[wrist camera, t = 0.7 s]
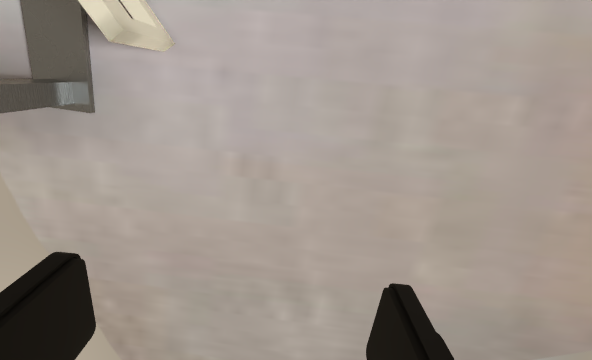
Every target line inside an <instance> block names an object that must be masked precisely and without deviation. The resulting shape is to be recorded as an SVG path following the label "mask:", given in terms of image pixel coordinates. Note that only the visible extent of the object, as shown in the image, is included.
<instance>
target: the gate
mask: <svg viewBox="0 0 592 360" xmlns="http://www.w3.org/2000/svg"><path fill="white" fill-rule="evenodd" d="M78 1H79V2H80V4H81V5H82V6H83V8H84V9H85V10H86V12H87V13H88V14H89V16H90V17H91V18H92V20H93V21H94V22H95V23H96V25H97V26H98V27H99V29H100V30H101V31H102V33H103V34H104V35H105V37H106V38H107V39H108V41H109V42H114V43H120V44H125V45H130V46H136V47H141V48H146V49H152V50H157V51H162V52H165V51H166V50H167V49H169V48H170V47H172V46H173V45H174V44H175V43H174V42H173V40H172V39H171V37H170V36H169V35H168V33H167V32H166V30H165V29H164V27H163V26H162V24H161V23H160V21H159V20H158V19H157V17H156V16H155V14H154V13H153V11H152V10H151V8H150V7H149V5H148V4H147V3H146V1H145V0H121V2H122V3H123V5H124V6H125V7H126V9H127V10H128V12H129V13H130V14H131V16H132V17H133V19H132V18H131V17H130V16H129V15H128V13H127V12H126V10H125V9H124V8H123V6H122V5H121V3H120V2H119V1H118V0H78Z"/></svg>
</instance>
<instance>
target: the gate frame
mask: <svg viewBox="0 0 592 360" xmlns="http://www.w3.org/2000/svg"><path fill="white" fill-rule="evenodd" d="M21 6H22V12H23V19H24V25H25V32H26V38H27V45H28V51H29V58H30V64H31V71H32V77H33V79H0V113H7V112H14V111H22V110H30V109H37V108H45V107H52V108H59V109H66V110H73V111H80V112H86V113H94V112H95V108H94V97H93V86H92V74H91V63H90V51H89V40H88V29H87V17H86V10H85V9H84V8H83V6H82V5H81V4H80V2H79V1H78V0H21Z"/></svg>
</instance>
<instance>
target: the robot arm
mask: <svg viewBox="0 0 592 360" xmlns="http://www.w3.org/2000/svg"><path fill="white" fill-rule="evenodd" d="M95 327H96V322H95V316H94V310H93V305H92V299H91V293H90V287H89V282H88V276H87V270H86V265H85V261H84V260H83V259H81V258H80V256H79V255H78V254H75V253H65V252H54V253H52V254H50V255H49V256H48V257H46V258H45V259H44V260H42V261H41V262H40V263H39V264H37V265H36V266H35V267H33V268H32V269H31V270H29V271H28V272H27V273H25V274H24V275H23V276H21V277H20V278H19V279H17V280H16V281H15V282H14V283H12V284H11V285H10V286H8V287H7V288H6V289H4V290H3V291H2V292H0V360H75V359H76V357H77V356H78V355H79V353H80V352H81V351H82V349H83V348H84V347H85V345H86V344H87V342H88V341H89V340H90V339H91V337H92V336H93V334H94V331H95ZM366 357H367V360H454V358H453V356H452V355H451V353H450V351H449V349H448V347H447V346H446V344H445V342H444V340H443V339H442V337H441V336H440V335H439V334H438V333H437V332H436V331H435V329H434V328H433V326H432V324H431V322H430V320H429V318H428V317H427V315H426V313H425V311H424V309H423V307H422V306H421V304H420V302H419V300H418V298H417V296H416V294H415V293H414V291H413V289H412V287H411V286H409V285H403V284H393V283H392V284H390V285H389V288H384V290H383V293H382V296H381V300H380V303H379V306H378V310H377V313H376V317H375V320H374V323H373V327H372V330H371V333H370V337H369V340H368V344H367V348H366Z"/></svg>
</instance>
